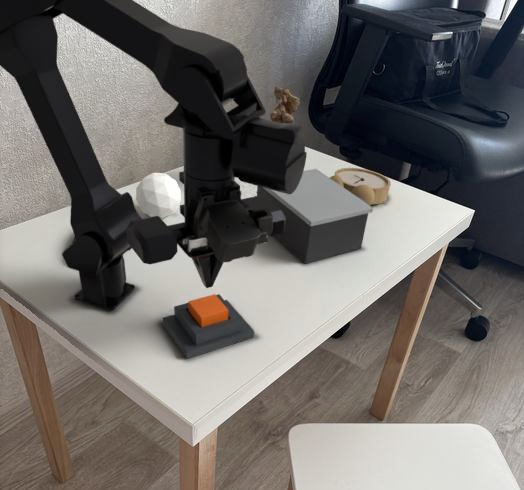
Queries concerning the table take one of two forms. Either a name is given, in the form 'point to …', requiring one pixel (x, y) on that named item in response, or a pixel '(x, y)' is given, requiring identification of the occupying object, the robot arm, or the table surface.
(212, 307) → the button
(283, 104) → the figurine
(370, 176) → the alarm clock
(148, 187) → the geometric ball
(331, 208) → the lid
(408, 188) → the table surface
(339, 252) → the open storage box
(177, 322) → the block
